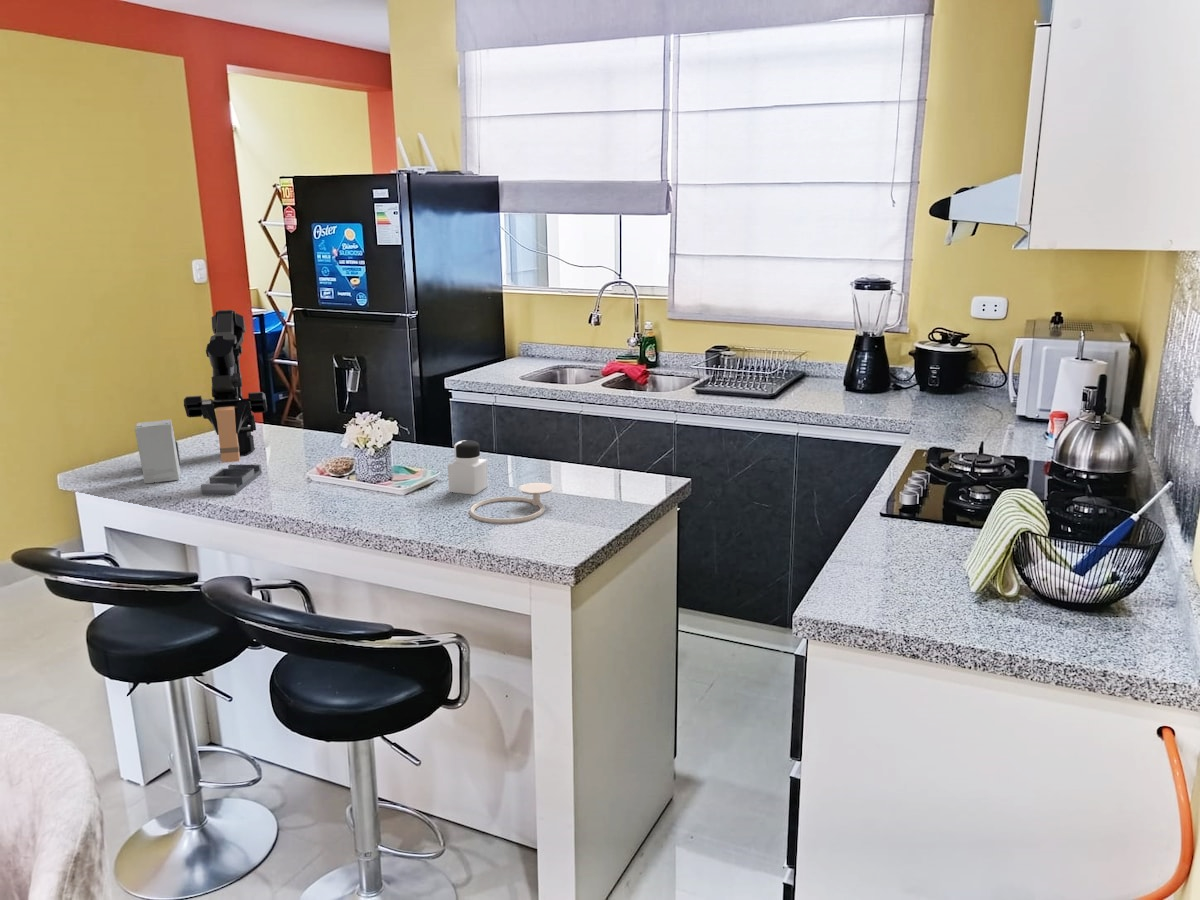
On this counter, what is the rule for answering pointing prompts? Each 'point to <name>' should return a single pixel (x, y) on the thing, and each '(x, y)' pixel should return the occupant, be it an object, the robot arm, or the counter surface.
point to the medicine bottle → (467, 469)
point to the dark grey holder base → (231, 479)
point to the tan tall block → (227, 434)
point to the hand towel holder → (529, 488)
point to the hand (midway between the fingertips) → (227, 433)
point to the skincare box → (157, 451)
